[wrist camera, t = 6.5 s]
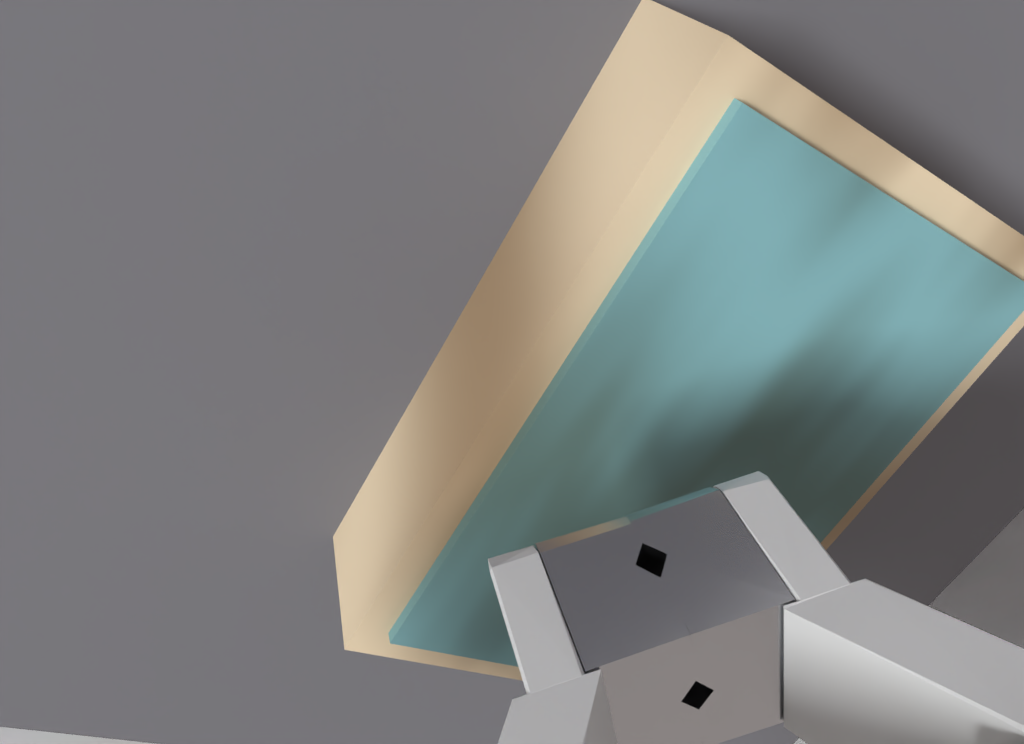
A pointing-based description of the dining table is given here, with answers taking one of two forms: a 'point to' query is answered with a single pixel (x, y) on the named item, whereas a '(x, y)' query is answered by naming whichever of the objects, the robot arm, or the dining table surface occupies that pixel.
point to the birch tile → (676, 336)
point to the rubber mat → (355, 322)
